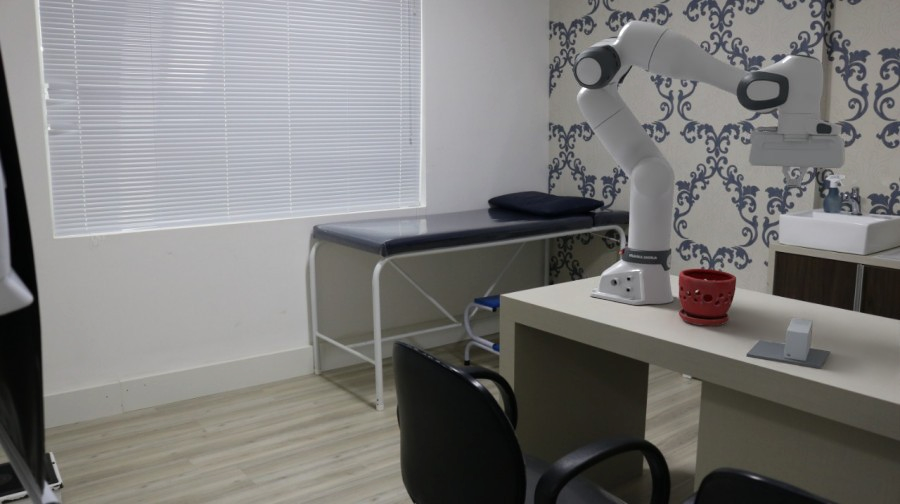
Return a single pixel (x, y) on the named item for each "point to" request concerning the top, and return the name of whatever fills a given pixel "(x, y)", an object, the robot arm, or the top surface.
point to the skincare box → (798, 339)
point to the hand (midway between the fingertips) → (793, 186)
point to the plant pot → (706, 296)
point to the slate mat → (777, 354)
